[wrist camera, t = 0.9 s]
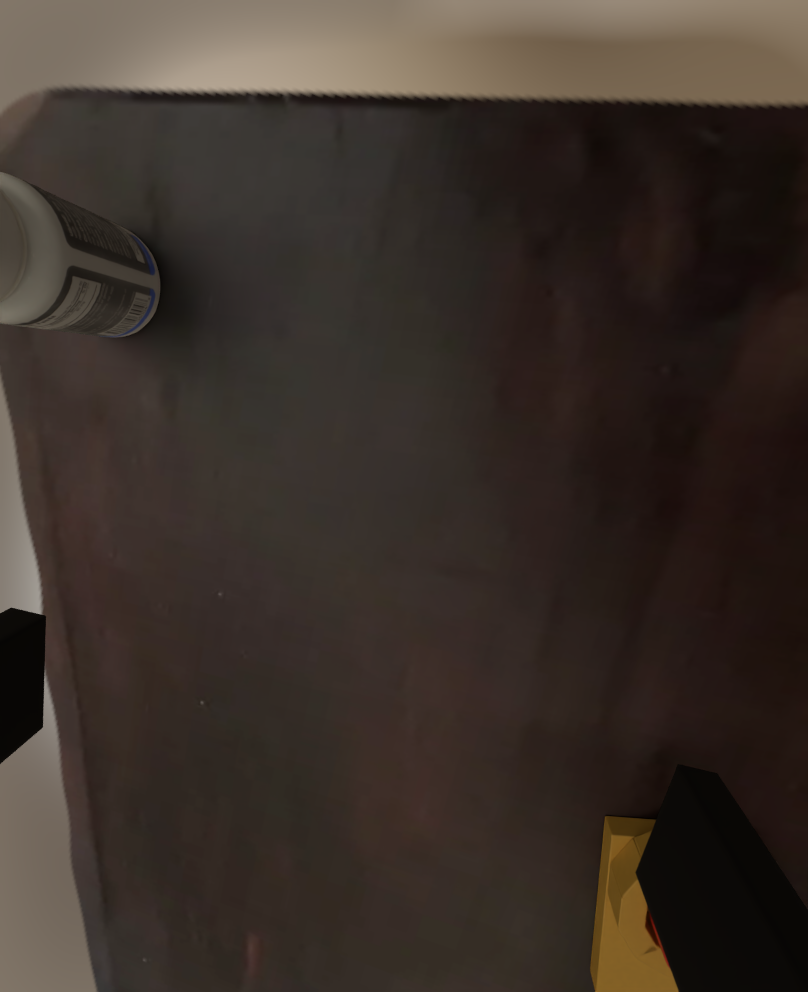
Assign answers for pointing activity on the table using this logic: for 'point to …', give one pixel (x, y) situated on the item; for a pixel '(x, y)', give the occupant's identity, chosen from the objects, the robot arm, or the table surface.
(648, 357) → the table surface
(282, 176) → the table surface
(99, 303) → the pill bottle
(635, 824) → the button box
